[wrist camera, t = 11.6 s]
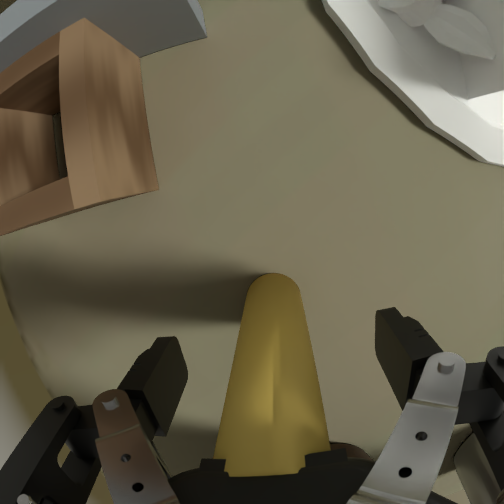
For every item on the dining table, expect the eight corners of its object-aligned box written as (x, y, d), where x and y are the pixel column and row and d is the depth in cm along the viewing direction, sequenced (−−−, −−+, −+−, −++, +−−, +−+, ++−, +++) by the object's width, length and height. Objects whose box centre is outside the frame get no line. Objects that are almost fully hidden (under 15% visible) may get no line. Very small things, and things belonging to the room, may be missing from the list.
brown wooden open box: (159, 189, 15) (100, 201, 10) (53, 219, 16) (-13, 240, 10) (139, 57, 13) (84, 17, 8) (38, 105, 14) (-26, 96, 9)
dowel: (303, 318, 17) (335, 516, 5) (251, 325, 17) (223, 522, 6) (297, 269, 16) (339, 462, 4) (241, 277, 16) (188, 471, 5)
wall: (207, 37, 13) (160, -48, 5) (4, 127, 15) (-78, 127, 7) (202, 10, 13) (158, -76, 5) (4, 104, 14) (-75, 97, 7)
